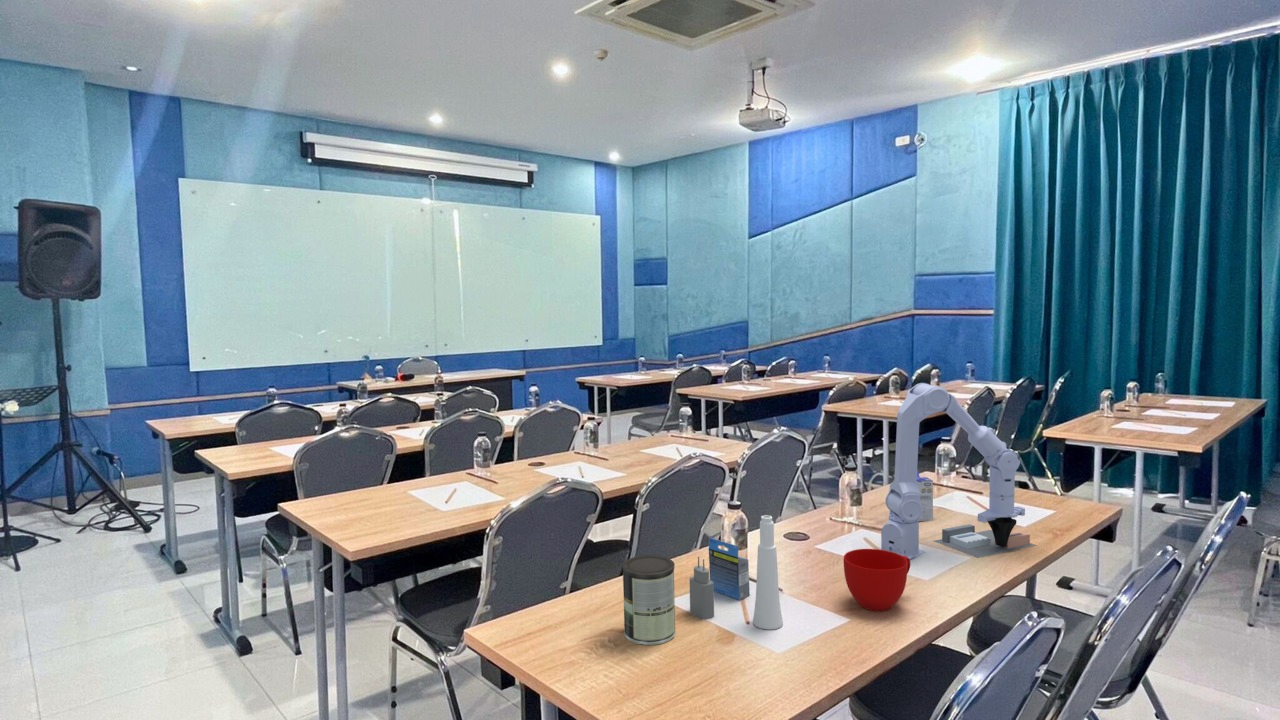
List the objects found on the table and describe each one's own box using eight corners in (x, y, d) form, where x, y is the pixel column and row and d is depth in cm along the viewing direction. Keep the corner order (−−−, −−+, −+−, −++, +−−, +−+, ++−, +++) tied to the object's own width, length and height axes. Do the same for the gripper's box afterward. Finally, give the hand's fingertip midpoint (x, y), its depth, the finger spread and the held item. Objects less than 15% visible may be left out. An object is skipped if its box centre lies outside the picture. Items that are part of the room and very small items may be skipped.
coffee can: (613, 636, 138) (611, 566, 137) (645, 617, 146) (644, 551, 145) (654, 651, 132) (652, 577, 131) (686, 631, 140) (684, 561, 139)
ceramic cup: (933, 604, 149) (933, 558, 149) (877, 623, 141) (877, 574, 140) (885, 584, 161) (885, 541, 160) (830, 600, 152) (830, 555, 152)
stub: (1007, 548, 181) (1007, 538, 181) (994, 544, 185) (994, 534, 184) (1029, 544, 184) (1029, 534, 184) (1016, 539, 188) (1016, 529, 188)
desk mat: (977, 559, 175) (977, 557, 175) (933, 542, 188) (933, 540, 188) (1037, 546, 183) (1037, 545, 183) (990, 531, 196) (990, 529, 196)
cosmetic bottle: (775, 632, 138) (774, 522, 136) (747, 625, 141) (746, 518, 140) (787, 621, 143) (786, 515, 141) (760, 614, 146) (759, 510, 145)
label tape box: (750, 595, 156) (749, 541, 155) (738, 601, 153) (738, 546, 152) (720, 585, 162) (719, 533, 162) (708, 590, 160) (707, 537, 159)
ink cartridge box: (927, 516, 212) (927, 469, 211) (934, 521, 206) (934, 473, 205) (893, 516, 212) (894, 469, 211) (900, 522, 206) (900, 473, 205)
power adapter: (700, 607, 151) (699, 552, 150) (715, 616, 146) (714, 560, 145) (688, 610, 149) (687, 555, 148) (703, 620, 144) (702, 563, 143)
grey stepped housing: (964, 549, 181) (965, 537, 181) (942, 541, 188) (942, 529, 188) (993, 543, 185) (993, 531, 185) (969, 535, 192) (969, 524, 192)
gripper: (994, 501, 174) (993, 554, 175) (1035, 494, 180) (1035, 546, 181) (971, 494, 181) (970, 546, 181) (1011, 488, 186) (1011, 538, 187)
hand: (1001, 545), depth 181 cm, fingers closed
